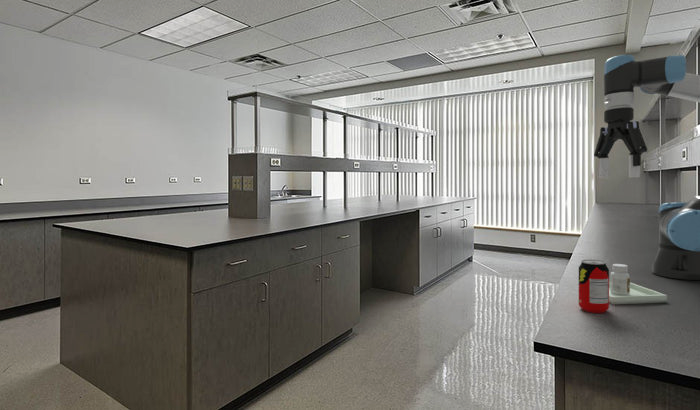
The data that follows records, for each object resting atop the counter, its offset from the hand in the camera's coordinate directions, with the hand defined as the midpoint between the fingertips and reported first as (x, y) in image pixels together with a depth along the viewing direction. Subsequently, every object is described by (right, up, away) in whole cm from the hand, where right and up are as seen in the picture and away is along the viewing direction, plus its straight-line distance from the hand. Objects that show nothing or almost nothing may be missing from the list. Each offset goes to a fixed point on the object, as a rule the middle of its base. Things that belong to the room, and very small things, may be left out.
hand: (618, 178), depth 124 cm
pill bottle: (-10, -33, -15) cm, 37 cm away
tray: (-10, -33, -15) cm, 38 cm away
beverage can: (-24, -34, -26) cm, 49 cm away
